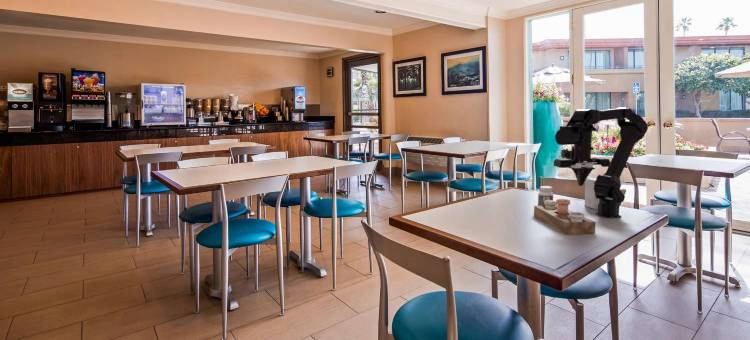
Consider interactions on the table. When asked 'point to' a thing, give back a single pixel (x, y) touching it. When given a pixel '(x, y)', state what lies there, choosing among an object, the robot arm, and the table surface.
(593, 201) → the skincare box
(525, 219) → the table surface
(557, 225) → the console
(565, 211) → the terracotta plug middle
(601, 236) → the table surface
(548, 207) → the grey plug
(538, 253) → the table surface
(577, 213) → the grey plug
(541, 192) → the pill bottle
